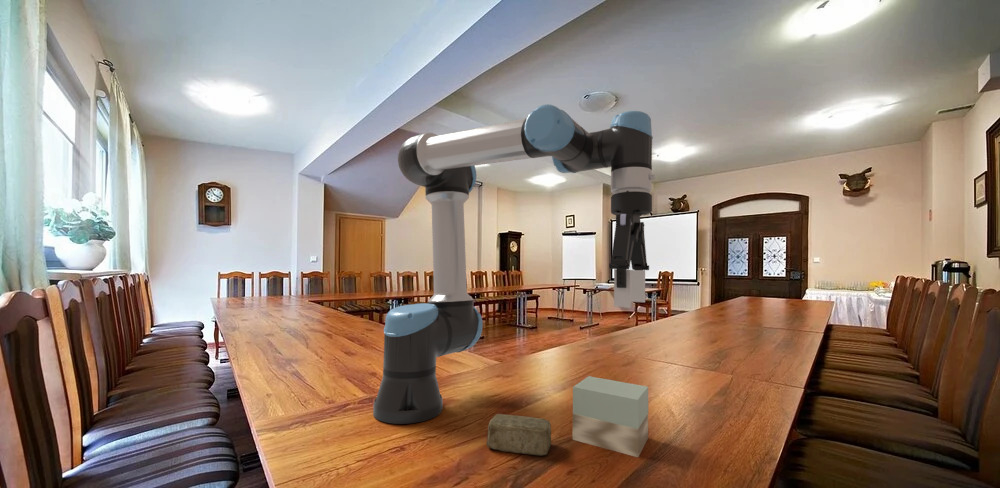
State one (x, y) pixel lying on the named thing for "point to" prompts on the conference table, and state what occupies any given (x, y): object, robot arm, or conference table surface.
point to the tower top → (611, 401)
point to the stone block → (519, 434)
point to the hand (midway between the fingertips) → (630, 304)
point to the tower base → (610, 435)
